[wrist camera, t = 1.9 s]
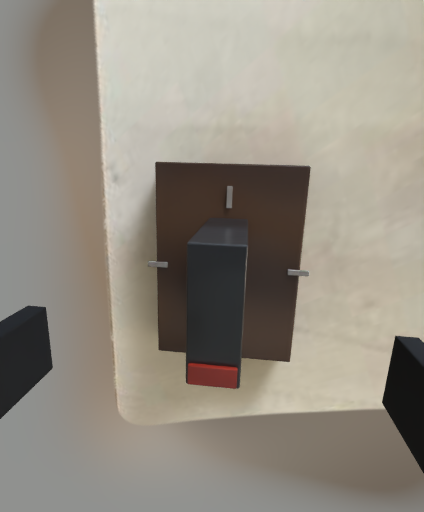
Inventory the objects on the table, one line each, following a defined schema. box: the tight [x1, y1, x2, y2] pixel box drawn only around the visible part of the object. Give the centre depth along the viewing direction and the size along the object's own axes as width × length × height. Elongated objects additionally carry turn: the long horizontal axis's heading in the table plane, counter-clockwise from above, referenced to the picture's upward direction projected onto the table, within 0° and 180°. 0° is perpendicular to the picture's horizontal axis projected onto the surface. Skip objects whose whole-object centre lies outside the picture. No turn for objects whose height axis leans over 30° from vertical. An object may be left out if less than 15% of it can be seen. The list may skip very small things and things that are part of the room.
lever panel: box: [148, 162, 310, 362], centre depth 23 cm, size 14×11×3 cm
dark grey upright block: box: [186, 218, 248, 389], centre depth 18 cm, size 7×3×8 cm, turn 178°
